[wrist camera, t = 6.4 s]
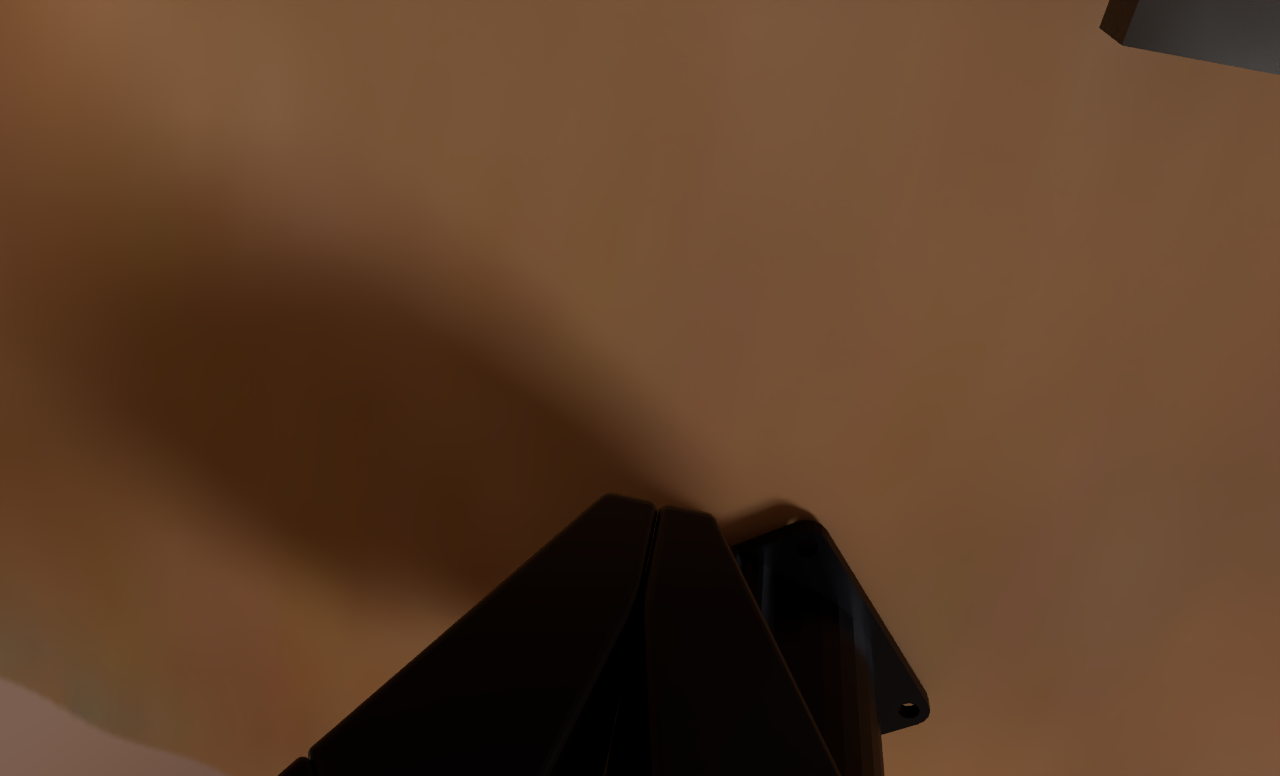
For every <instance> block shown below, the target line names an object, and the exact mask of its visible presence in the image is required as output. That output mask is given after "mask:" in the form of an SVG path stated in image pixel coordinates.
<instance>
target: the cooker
mask: <svg viewBox="0 0 1280 776" xmlns="http://www.w3.org/2000/svg"><path fill="white" fill-rule="evenodd" d="M1099 28H1100V29H1101V30H1103V31H1104V32H1105V33H1107V34H1108V35H1109V36H1111V37H1112V38H1113V39H1114V40H1116V41H1117V42H1118V43H1120V44H1121V45H1123V46H1128V47H1134V48H1139V49H1144V50H1150V51H1155V52H1160V53H1166V54H1171V55H1176V56H1182V57H1187V58H1192V59H1198V60H1203V61H1208V62H1214V63H1219V64H1224V65H1230V66H1235V67H1240V68H1246V69H1251V70H1256V71H1262V72H1267V73H1272V74H1278V75H1280V0H1109V3H1108V6H1107V8H1106V11H1105V14H1104V17H1103V19H1102V22H1101V25H1100V27H1099Z"/></svg>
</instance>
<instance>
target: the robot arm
mask: <svg viewBox="0 0 1280 776" xmlns="http://www.w3.org/2000/svg"><path fill="white" fill-rule="evenodd" d="M657 513H658V516H657ZM656 518H657V521H656ZM655 523H656V526H655ZM654 528H655V531H654ZM653 533H654V536H653ZM652 537H653V541H652ZM807 539H808V540H811V541H814V542H815V543H816V544H814V545H813V546H808V547H806V546H802V545H800V544H799V542H800V541H801V540H807ZM651 542H652V546H651ZM650 547H651V551H650ZM649 552H650V556H649ZM648 557H649V560H648ZM647 562H648V565H647ZM646 567H647V570H646ZM645 572H646V575H645ZM907 703H911V704H914V705H912V706H904V705H903V704H907ZM929 713H930V706H929V699H928V696H927V693H926V691H925V689H924V688H923V686H922V684H921V683H920V681H919V680H918V678H917V676H916V675H915V673H914V671H913V670H912V668H911V666H910V665H909V663H908V662H907V660H906V658H905V657H904V655H903V653H902V652H901V650H900V649H899V647H898V645H897V644H896V642H895V640H894V639H893V637H892V635H891V634H890V632H889V631H888V629H887V627H886V626H885V624H884V622H883V621H882V619H881V618H880V616H879V614H878V613H877V611H876V609H875V608H874V606H873V604H872V603H871V601H870V600H869V598H868V596H867V595H866V593H865V591H864V590H863V588H862V587H861V585H860V583H859V582H858V580H857V578H856V577H855V575H854V573H853V572H852V570H851V569H850V567H849V565H848V564H847V562H846V560H845V559H844V557H843V556H842V554H841V552H840V551H839V549H838V547H837V546H836V544H835V542H834V541H833V539H832V538H831V536H830V534H829V533H828V531H827V530H826V529H825V528H824V527H823V526H822V525H821V524H819V523H817V522H815V521H810V520H803V521H798V522H795V523H792V524H790V525H787V526H784V527H782V528H779V529H776V530H774V531H771V532H769V533H766V534H763V535H761V536H758V537H755V538H753V539H750V540H748V541H745V542H742V543H740V544H737V545H734V546H732V547H729V545H728V543H727V541H726V539H725V537H724V535H723V533H722V531H721V529H720V527H719V525H718V523H717V521H716V519H715V518H714V517H713V516H712V515H711V514H709V513H706V512H701V511H696V510H691V509H687V508H682V507H677V506H672V505H665V506H663V507H662V508H661V509H660V510H659V512H658V509H657V506H656V505H655V504H654V503H653V502H651V501H648V500H644V499H639V498H634V497H629V496H625V495H620V494H615V493H607V494H604V495H603V496H601V497H600V498H599V499H598V500H597V501H595V502H594V503H593V504H592V505H591V506H590V507H589V508H587V509H586V510H585V511H584V512H583V513H582V514H580V515H579V516H578V517H577V518H576V519H575V520H573V521H572V522H571V523H570V524H569V525H568V526H567V527H565V528H564V529H563V530H562V531H561V532H560V533H558V534H557V535H556V536H555V537H554V538H553V539H552V540H550V541H549V542H548V543H547V544H546V545H545V546H543V547H542V548H541V549H540V550H539V551H538V552H536V553H535V554H534V555H533V556H532V557H531V558H530V559H528V560H527V561H526V562H525V563H524V564H523V565H521V566H520V567H519V568H518V569H517V570H516V571H515V572H513V573H512V574H511V575H510V576H509V577H508V578H506V579H505V580H504V581H503V582H502V583H501V584H499V585H498V586H497V587H496V588H495V589H494V590H493V591H491V592H490V593H489V594H488V595H487V596H486V597H484V598H483V599H482V600H481V601H480V602H479V603H478V604H476V605H475V606H474V607H473V608H472V609H471V610H469V611H468V612H467V613H466V614H465V615H464V616H462V617H461V618H460V619H459V620H458V621H457V622H456V623H454V624H453V625H452V626H451V627H450V628H449V629H447V630H446V631H445V632H444V633H443V634H442V635H441V636H439V637H438V638H437V639H436V640H435V641H434V642H432V643H431V644H430V645H429V646H428V647H427V648H425V649H424V650H423V651H422V652H421V653H420V654H419V655H417V656H416V657H415V658H414V659H413V660H412V661H410V662H409V663H408V664H407V665H406V666H405V667H404V668H402V669H401V670H400V671H399V672H398V673H397V674H395V675H394V676H393V677H392V678H391V679H390V680H388V681H387V682H386V683H385V684H384V685H383V686H382V687H380V688H379V689H378V690H377V691H376V692H375V693H373V694H372V695H371V696H370V697H369V698H368V699H366V700H365V701H364V702H363V703H362V704H361V705H360V706H358V707H357V708H356V709H355V710H354V711H353V712H351V713H350V714H349V715H348V716H347V717H346V718H345V719H343V720H342V721H341V722H340V723H339V724H338V725H336V726H335V727H334V728H333V729H332V730H331V731H329V732H328V733H327V734H326V735H325V736H324V737H323V738H321V739H320V740H319V741H318V742H317V743H316V744H314V745H313V746H312V747H311V748H310V749H309V751H308V758H307V757H299V758H297V759H296V760H295V761H294V762H293V763H291V764H290V765H289V766H288V767H287V768H286V769H285V770H283V771H282V772H281V773H280V774H279V775H278V776H884V764H883V752H882V740H881V735H882V734H886V733H889V732H893V731H896V730H900V729H903V728H906V727H910V726H913V725H917V724H919V723H921V722H923V721H925V720H926V719H927V718H928V717H929Z"/></svg>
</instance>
